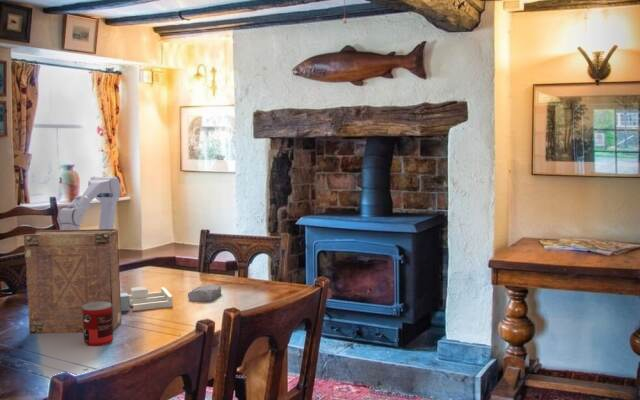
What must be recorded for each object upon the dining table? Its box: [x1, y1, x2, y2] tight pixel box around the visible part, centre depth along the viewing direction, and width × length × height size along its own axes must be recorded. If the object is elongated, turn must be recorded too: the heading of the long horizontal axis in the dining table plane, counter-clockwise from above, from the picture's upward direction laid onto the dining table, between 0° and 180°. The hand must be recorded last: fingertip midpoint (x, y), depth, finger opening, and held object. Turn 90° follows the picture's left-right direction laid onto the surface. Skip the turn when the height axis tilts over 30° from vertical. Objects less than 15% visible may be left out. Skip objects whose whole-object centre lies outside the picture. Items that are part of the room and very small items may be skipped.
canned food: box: [82, 301, 114, 347], centre depth 189 cm, size 8×8×11 cm
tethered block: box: [120, 292, 130, 312], centre depth 223 cm, size 5×14×6 cm, turn 113°
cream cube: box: [130, 286, 149, 300], centre depth 235 cm, size 5×5×5 cm
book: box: [23, 228, 122, 334], centre depth 203 cm, size 25×9×30 cm, turn 91°
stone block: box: [187, 284, 222, 302], centre depth 241 cm, size 12×5×10 cm
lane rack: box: [128, 287, 174, 312], centre depth 232 cm, size 15×13×4 cm
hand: (73, 283), depth 224 cm, fingers open, 7 cm apart
